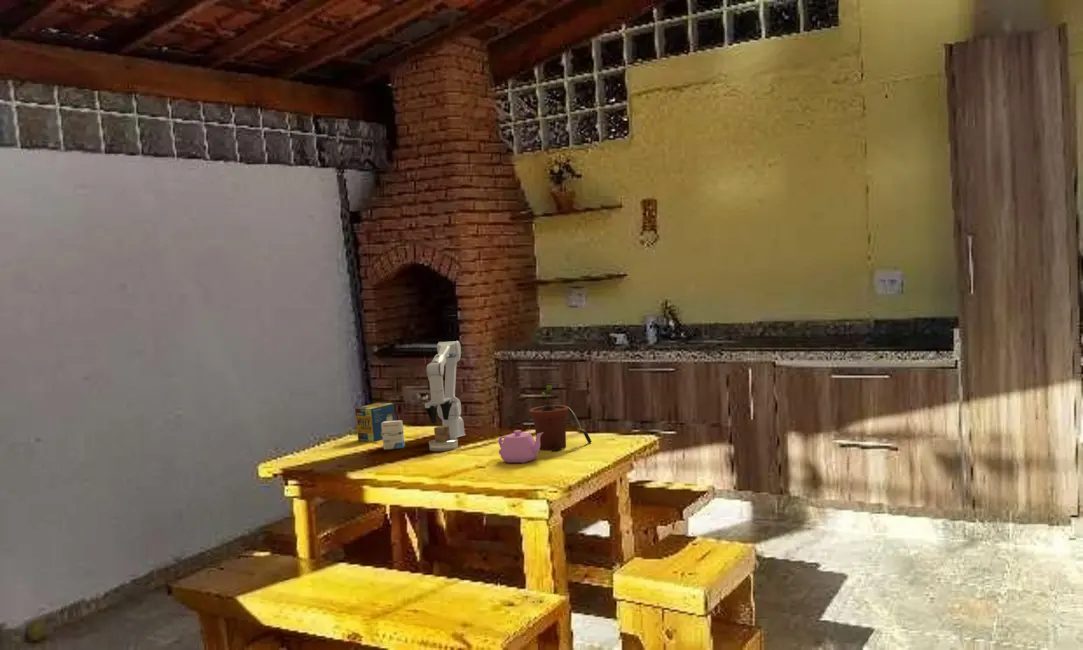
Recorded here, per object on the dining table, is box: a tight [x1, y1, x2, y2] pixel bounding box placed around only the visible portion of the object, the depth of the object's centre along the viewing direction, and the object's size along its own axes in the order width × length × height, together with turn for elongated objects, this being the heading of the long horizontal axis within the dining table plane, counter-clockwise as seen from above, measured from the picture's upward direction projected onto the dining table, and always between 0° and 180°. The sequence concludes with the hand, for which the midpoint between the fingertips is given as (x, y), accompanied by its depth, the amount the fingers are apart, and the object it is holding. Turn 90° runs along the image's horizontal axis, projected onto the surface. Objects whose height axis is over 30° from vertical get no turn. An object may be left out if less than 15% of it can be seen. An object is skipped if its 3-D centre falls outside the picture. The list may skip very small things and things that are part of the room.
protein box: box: [354, 402, 396, 443], centre depth 413 cm, size 10×15×16 cm
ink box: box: [381, 419, 406, 450], centre depth 386 cm, size 8×5×12 cm, turn 84°
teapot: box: [498, 429, 544, 464], centre depth 339 cm, size 20×13×12 cm, turn 65°
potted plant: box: [529, 384, 592, 453], centre depth 359 cm, size 18×22×25 cm
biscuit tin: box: [428, 438, 459, 452], centre depth 377 cm, size 12×12×4 cm
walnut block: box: [433, 425, 450, 442], centre depth 377 cm, size 4×4×6 cm
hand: (439, 421), depth 384 cm, fingers open, 7 cm apart
